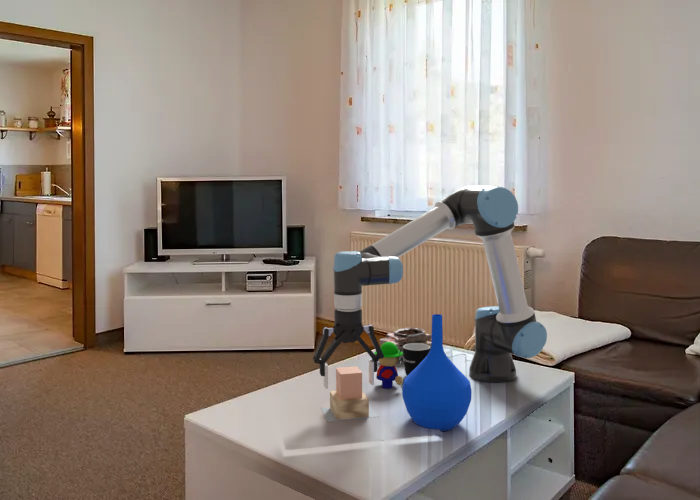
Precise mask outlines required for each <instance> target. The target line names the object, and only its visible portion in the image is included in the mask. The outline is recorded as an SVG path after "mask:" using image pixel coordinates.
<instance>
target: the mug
mask: <svg viewBox="0 0 700 500" xmlns="http://www.w3.org/2000/svg"><path fill="white" fill-rule="evenodd" d="M429 352H430V346H429V345H426V344H421V343H410V344H406V345H404V346H403V359H402V361H403V367H404V372H405V375H406V377H407V376H408V375H409V374H410V373H411V372H412V371H413V370H414V369H415V368H416V367H417V366H418V365H419V364H420V363H421V362H422V361H423V360H424V358H425V357H426V356H427V355H428V353H429Z"/></svg>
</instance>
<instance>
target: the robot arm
mask: <svg viewBox="0 0 700 500" xmlns="http://www.w3.org/2000/svg"><path fill="white" fill-rule="evenodd" d="M517 200H518V199H517V198H516V196H515V194H514V193H513V192H512V191H511V190H509V189H507V187H503V186H498V185H467V186H463V187H461V188H459V189H458V190H456V191H454V192H452V193H450V194H448V195H447V196H445V197H443V198H442V199H440V200H438V201H437V202H435V204H434V207H432V208H431V209H429V210H428V211H426V212H425V213H423V214H421V215H420V216H418V217H416V218H415V219H412V220H411V221H410V222H408V223H406V224H404V225H402V226H401V227H399V228H398V229H396V230H394V231H392V232H391V233H390V234H387V235H386V236H384V237H382V238H381V239H379V240H377V241H375V242H374V243H371V244H370V245H369V246H367V247H365V248H363V249H361V250H353V251H352V250H351V251H350V250H349V251H347V250H346V251H338V252H337V253H335V255H334V256H333V257H334V258H333V268H332V270H333V287H334V290H333V293H334V294H333V297H334V298H333V303H334V306H333V307H334V308H335V309H334V313H333V315H334V316H333V317H334V321H333V322H334V325H333V327H327V326H323V328H322V335H321V338H320V340H319V343H318V345H317V347H316V350H315V352H314V354H313V357H312V361H313V362H314V364H318V365H319V375H320V376H321V377H323V387H324V389H325V390H327V389H329V365H328V363H327V361H328V360H329V359H330V357H331V356H332V355H333V353H335V351H336V350H337V348H338V347H339V346H340V345H341V344H342V343H343V344H347V343H356V342H358V343H359V345H361V347H362V348H363V349H364V351H365V352H366V353H367V354H368V356H369V357H370V358H371V359H368V383H369V384H370V385H371V386H374V385H375V373H377V370H378V362H379V359H381V358H384V355H383V352H382V350H381V348H380V347H381V345H380V344H379V342H378V339H377V338H376V334H375V330H374V329H375V328H374V325H372V324H371V323H369V324H367V325H363V310H362V309H361V308H362V307H363V302H362V301H363V297H362V293H363V288H362V287H363V286H365V287H367V286H376V285H377V286H379V285H380V286H381V285H390V284H397V283H399V282H401V281H402V278H403V275H404V266H403V262H402V261H401V259H400V257H402V256H403V255H405V254H407V253H408V252H411V251H412V250H414V249H415V248H417V247H419V246H420V245H422V244H423V243H426V241H429V240H430V239H432V238H433V237H435V236H437V235H439V234H440V233H442V232H443V231H446V230H447V229H448V230H453V229H455V228H456V227H458V226H461V225H466V224H472V225H473V230H474V234H475V236H476V237H478V238H479V239H481V241H482V243H483V244H482V245H483V249H484V252H485V256H486V260H487V265H488V269H489V273H490V277H491V281H492V286H493V290H494V295H495V298H496V303H497V305H496V306H495V305H494V306H482V307H479V308H477V309H476V311H475V316H474V317H475V318H474V323H475V325H474V328H475V329H474V334H475V335H474V354H473V357H472V358H471V359H472V360H471V362H470V365H469V369H468V370H469V372H468V373H469V376H470V377H471V378H472V379H475V380H478V381H480V382H481V381H482V382H488V383H506V382H512V381H513V379H514V380H515V379H516V378H517V369H516V366H515V365H516V364H515V361H514V359H513V356H515V357H518V358H523V359H531V358H534V357H536V356H538V355H539V354H540V353H541V351H543V349H544V347H545V345H546V344H547V339H548V332H547V328H546V327H545V325H543V324H542V323H541V322H540V321H537V317H536V313H535V310H534V308H533V307H531V306H529V305H528V301H527V297H526V292H525V289H524V284H523V280H522V275H521V271H520V266H519V261H518V258H517V254H516V250H515V245H514V241H513V236H512V231H513V230H514V228H515V227H516V226H515V221H516V219H517V215H518V213H519V203H518V201H517ZM364 331H365V333H366V334H368V337H369V339H370V341H371V343H372V345H373V348H374V350H375V351H376V352H377V354H374V352H373V350H371V348H370V347H369V346H368V344H367V343H366V342H365V341H364V339H363V338H362V337H361V335H362V334H363V333H364ZM332 334H334V335H335V336H334V339H333V340H332V341H331V343H330V345H329V346H328V347H327V348H326V345H327V343H328V341H329V337H330V336H331V335H332ZM325 348H326V350H325V352H324V349H325ZM323 352H324V353H323ZM512 355H513V356H512Z"/></svg>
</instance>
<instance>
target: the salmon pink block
mask: <svg viewBox="0 0 700 500" xmlns="http://www.w3.org/2000/svg"><path fill="white" fill-rule="evenodd" d="M335 382H336V384H335V385H336V386H335V387H336V388H335V389H336V390H335V391H336V393H337V394H338V396H339V397H340V399H352V398H362V390H363V372H362V370H360V368H359V366H357V365H356V366H344V367H343V366H342V367H336V368H335Z"/></svg>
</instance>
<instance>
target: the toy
mask: <svg viewBox="0 0 700 500" xmlns="http://www.w3.org/2000/svg"><path fill="white" fill-rule="evenodd" d="M380 348H381V350H382V352H383V355H384V358H381V359H379V360H378V362H379V364H380V365H379V367H377V372H376V376H375V377H376V380H378V381H381V386H382V387H381V388H382V389H385V390H386V389H387V390H389V389H393V387H394V385H393V383H394V382H395V383H396V385H398V386H401V385H402V384H403V383H404V380H403V377H402V376H401V375H399V373H398V372H399V371H398V369H397V368H396V365H398V363H399V368H401V365H402V364H403V362H402V361H403V359H402V355H403V352H402V347H401V349H400V350H398V348H397V346H396V345H395V344H394V343H392V342H385V343H384V344H382V345H380ZM373 353H374V354H377V352H376V350H375V351H374V352H373Z"/></svg>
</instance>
